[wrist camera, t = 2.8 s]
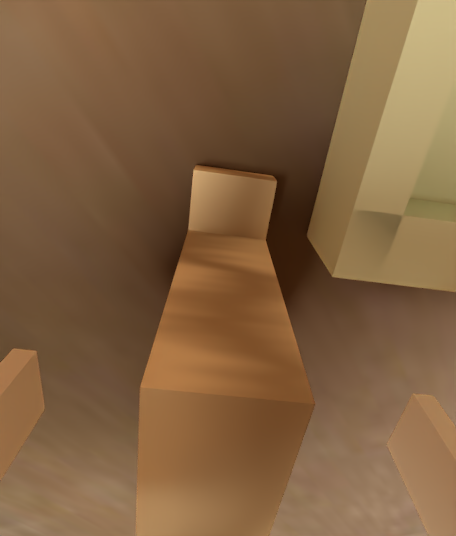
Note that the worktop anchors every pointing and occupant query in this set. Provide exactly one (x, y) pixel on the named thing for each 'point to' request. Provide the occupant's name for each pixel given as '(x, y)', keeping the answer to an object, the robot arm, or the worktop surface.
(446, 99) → the well block
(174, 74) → the worktop surface
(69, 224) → the worktop surface
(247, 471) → the wooden stepped block
